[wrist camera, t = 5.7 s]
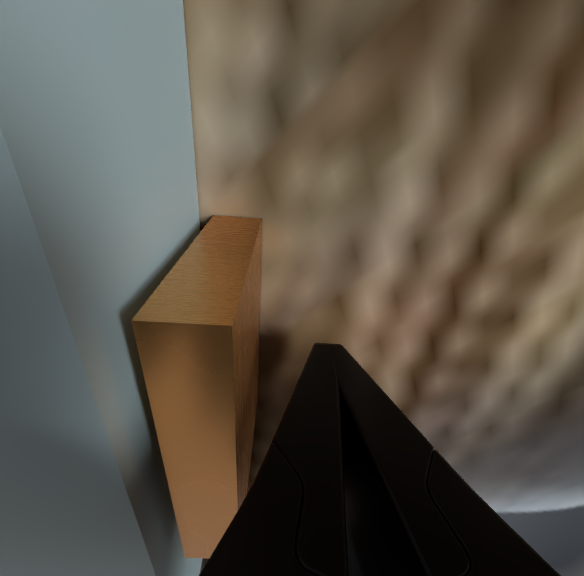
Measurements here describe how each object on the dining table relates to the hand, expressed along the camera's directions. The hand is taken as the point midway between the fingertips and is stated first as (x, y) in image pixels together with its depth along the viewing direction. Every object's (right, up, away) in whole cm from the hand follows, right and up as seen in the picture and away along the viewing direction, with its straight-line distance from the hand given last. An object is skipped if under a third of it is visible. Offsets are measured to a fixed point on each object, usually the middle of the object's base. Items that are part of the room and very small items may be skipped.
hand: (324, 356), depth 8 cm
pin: (-5, +1, +1) cm, 6 cm away
